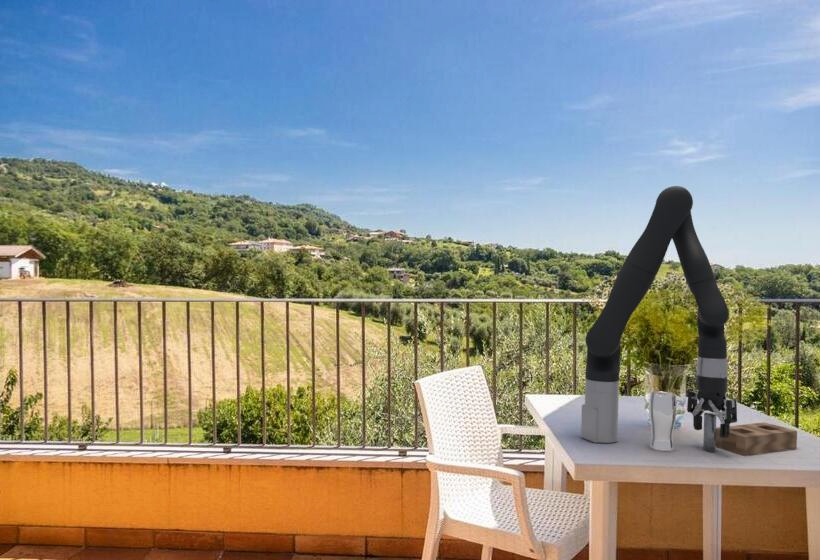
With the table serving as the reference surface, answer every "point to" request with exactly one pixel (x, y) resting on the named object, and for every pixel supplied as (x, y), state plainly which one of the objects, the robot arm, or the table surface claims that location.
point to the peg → (709, 432)
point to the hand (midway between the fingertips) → (710, 433)
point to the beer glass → (662, 420)
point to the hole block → (757, 438)
